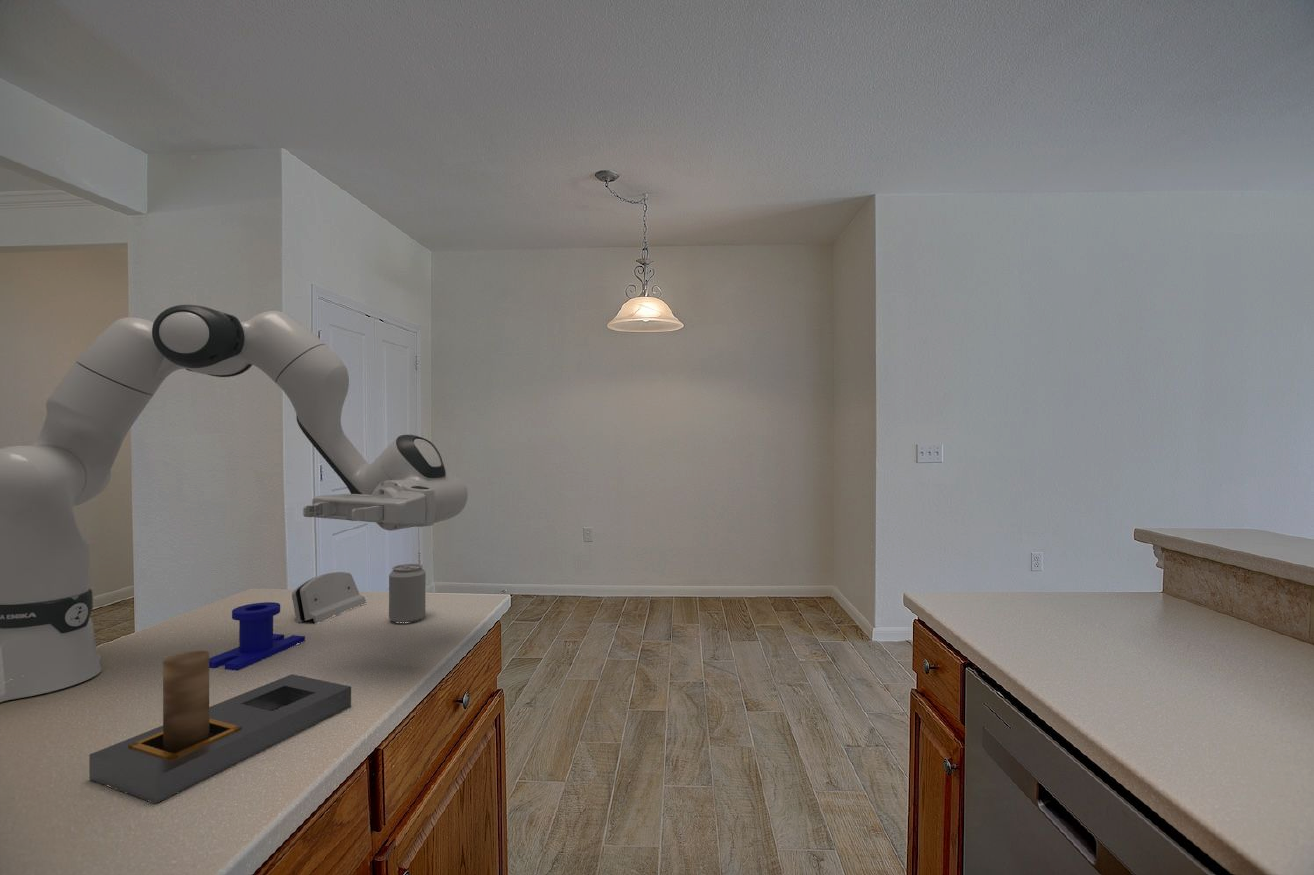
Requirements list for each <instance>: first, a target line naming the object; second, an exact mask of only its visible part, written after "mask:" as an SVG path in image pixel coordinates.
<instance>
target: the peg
mask: <svg viewBox="0 0 1314 875" xmlns="http://www.w3.org/2000/svg"><path fill="white" fill-rule="evenodd" d="M209 658H210V652H209V651H206V650H191V651H185V652H181V653H177V654H173V655H171V656H168V657H166V658H165V659H163V661H162V711H163V712H162V721H163V722H162V726H163V751H167V752H170V753H173V754H175V753H177V752H180V751H182V750H184V749H186V748H189V747H191V746H193V745H195V744H198V743H200V742H202V741H204V740H207V739H209V707H210V668H209Z"/></svg>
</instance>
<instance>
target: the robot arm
mask: <svg viewBox="0 0 1314 875" xmlns="http://www.w3.org/2000/svg"><path fill="white" fill-rule="evenodd" d="M252 366H254V367H256V368H258V369H259V370H260V371H262V372H263V373H264V374H266V376H268V378H270V379H271V380H272V381H273V382H274V383H275V384H276V385H277V386H278V387H279V388H280V389H281V390H282V391H283V392H284V394H285V395H286V396H287V398H288V399H289V401H290V402H291V405H292V407H293V408H294V411H295V414H296V416H295V418H296V422H297V424H298V427H299V429H300V430H301V431H302V433H303V434H304V435H305V437H306V438H307V439H308V441H309V442H310V443H311V445H312V446H313V447H314V448H315V450H316V451H317V452H318V453H319V454H320V456H322V458H323V459H324V460H325V461H326V463H327V464H328V465H329V466H330V467H331V469H332V470H333V471H334V472H335V473H336V475H337V476H338V478H340V480H341V481H342V482H343V483H344V485H345V486H346V487H347V489H348V491H349V493H341V494H338V493H337V494H326V495H318V496H314V497H313V498H312V501H311V504H308V505H304V507H303V509H302V512H303V513H302V515H303V517H305V518H318V519H330V520H345V521H351V522H357V521H358V522H368V523H376V525H378V526H379V527H380V528H381V529H383V530H385V531H397V530H402V529H408V528H412V527H415V528H417V527H421V528H422V527H430V526H433V525H434V524H435V523H440V522H443V521H446V520H450V519H452V518H455V517H456V516H458V515H460V513H462V511H463V510H464V508H465V506H466V505H467V502H468V498H469V497H468V496H469V492H468V488H467V486H466V484H465V482H464V481H463V480H462V479H461V478H459V477H457V476H455V475H454V474H451V473H450V471H448V470H447V468H446V467H445V464H444V462H443V459H442V456H441V454H440V452H439V450H438V449H437V447H436V445H435V444H433V442H432V441H430V440H429V439H426V438H424V437H423V436H418V435H414V434H402V435H398V437H397V438H396V439H394V440H393V442H391V443H390V444H389V445H388V446H387V447H386V448H385V449H384V450H383V451H382V452H381V454H379V456H378V457H376V459H375V460H373V462H372V463H371V464H370V463H369V462H368V461H367V460H366V459H365V458H364V456H362V454H361V453H360V452H359V451H358V449H357V447H356V446H355V445H354V444H353V443H352V442H351V440H350V439H349V438H348V437H347V435H346V434H345V433H344V430H343V427H342V420H341V418H342V412H343V407H344V404H345V401H346V398H347V395H348V392H349V385H350V377H349V370H348V369H347V367H346V365H345V363H344V362H343V360H341V358H340V357H339V356H338V354H336V353H335V352H334V351H333V350H332V349H331V348H330V347H329V346H328V345H327V344H326V343H325V342H324V341H322V340H321V339H320V338H319V337H318V336H317V335H315V333H314V332H312V331H311V330H309V328H307V327H306V326H304V325H303V324H302V323H301V322H299V321H297V320H296V319H295V318H292V317H291V316H290V315H289V314H286V313H285V312H282V311H279V310H268V311H264V312H260V313H258V314H256V315H255V316H253V317H251V318H250V319H248V320H246V321H240V320H239V318H238V316H237V317H236V316H235V315H233V314H229V313H226V312H222V311H219V310H215V309H213V308H210V307H206V306H202V305H198V304H197V305H196V304H195V305H194V304H178V305H173V306H171V307H168V308H166V309H164V310H163V311H162V312H160V313H159V314H158V315H157V317H156V318H155V319H154V322H153V321H152V320H148V319H146V318H140V317H132V316H129V317H122V318H119V319H116V320H115V321H113V322H112V324H110V325H109V326H107V327H106V329H104V330H103V331H102V332H101V333H99V334H98V336H97V337H96V338H95V339H93V341H92V342H90V344H89V345H88V346H87V347H86V349H85V350H84V351H83V352H82V353H81V355H80V356H79V357H78V358H77V360H76V361H75V362H74V363H73V365H72V366H71V367H70V368H69V370H68V371H67V372H66V374H65V375H64V377H63V378H62V379H61V380H60V382H59V383H58V384H57V386H56V387H55V388H54V390H52V392H51V394H50V396H49V397H48V398H47V399H46V403H45V408H46V416H45V420H44V421H43V425H42V428H41V430H40V433H39V435H38V437H37V439H36V440H34V441H33V443H31V444H30V445H11V446H4V447H1V448H0V703H3V702H5V701H9V700H17V699H22V698H23V699H24V698H28V697H32V696H37V695H43V694H47V693H51V692H54V691H58V690H62V689H66V688H69V687H72V686H75V685H77V684H80V683H82V682H86V681H87V680H89V679H92V678H93V677H95V676H97V675H99V674H100V673H101V672H102V671H103V668H102V666H101V661H102V660H101V658H102V657H101V654H98V651H97V650H98V649H97V644H96V638H95V629H94V624H93V619H92V618H91V615H92V614H91V613H92V611H93V609H94V608H93V607H94V606H93V601H94V595H93V590H92V589H91V588H90V546H89V543H88V541H87V540H86V538H84V537H83V535H82V534H81V531H80V530H79V529H80V528H79V527H78V526H79V525H78V524H77V520H76V516H75V514H74V513H75V512H74V507H77V506H79V505H82V504H85V503H86V502H88V501H91V500H92V499H93V498H95V497H97V496H98V495H99V494H101V493H102V492H103V491H104V490H105V489H106V488H107V487H108V485H109V483H110V481H111V477H112V471H111V470H112V468H113V465H114V463H115V461H116V458H117V456H118V454H119V451H120V449H121V447H122V444H123V442H124V440H125V438H126V436H127V435H128V433H129V431H130V430H131V429H132V427H133V425H134V424H135V422H136V421H137V419H138V418H139V417H140V415H141V414H142V412H143V411H144V409H145V408H146V407H147V405H148V403H149V402H150V401H151V399H152V398H153V397H154V395H155V394H156V392H157V391H158V390H159V388H160V387H161V385H162V383H163V382H164V381H165V380H166V379H167V378H168V377H169V376H170V375H171V374H172V373H174V372H176V371H178V370H183V369H185V370H186V371H188V372H194V373H197V374H201V375H207V376H211V377H216V378H217V377H218V378H231V377H235V376H239V375H241V374H244V373H245V372H247V371H248V370H250V369H251V368H252ZM23 675H24V676H23ZM21 676H22V677H21ZM10 679H13V680H10ZM8 680H9V681H8ZM7 681H8V682H7ZM3 682H6V683H3Z"/></svg>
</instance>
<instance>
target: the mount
mask: <svg viewBox="0 0 1314 875" xmlns="http://www.w3.org/2000/svg"><path fill="white" fill-rule="evenodd" d="M280 613H281V604H280V603H279V602H274V601H273V602H271V601H269V602H267V601H266V602H256V603H255V602H254V603H250V604H249V603H248V604H244V605H241V606H240V605H239V606H238V607H235V608H233V609H232V611H231V619H232V620H233V621H237V622H238V621H239V624H238V625H239V626H238V627H239V628H238V629H239V632H238V633H239V636H238V637H239V640H238V643H239V645H238V647H235V648H233V649H232V648H231V649H229V650H227V651H225V652H222V653H218V654H217V655H214V656H212V657H209V669H217V668H220V667H221V666H224V670H226V671H227V670H228V671H240V670H243V669H245V668H247V667H250V666H251V665H254V664H256V663H258V662H262V661H263V660H262V659H264V660H266V659H268V658H270V657H273V656H275V655H277V654H279V653H278V652H280V653H281V651H282V652H283V650H284V651H287V650H288V648H289V649H291V648H293V647H295V646H294V645H296V644H297V643H300V644H302V643H304V642H303V641H305V642H306V636H305V635H298V634H297V635H296V634H295V635H294V634H293V635H290V636H288V637H285V634H281V633H274V616H277V615H278V614H280ZM301 642H302V643H301ZM292 646H293V647H292ZM296 646H297V645H296ZM290 647H291V648H290ZM276 653H277V654H276ZM274 654H275V655H274ZM272 655H273V656H272ZM267 657H268V658H267ZM265 658H266V659H265ZM249 665H250V666H249Z"/></svg>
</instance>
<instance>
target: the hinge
mask: <svg viewBox="0 0 1314 875" xmlns="http://www.w3.org/2000/svg"><path fill="white" fill-rule="evenodd" d="M353 577H354V576H352V573H349V572H346V571H344V572H343V571H336V572H335V571H334V572H329V573H324V574H321V575H318V576H315V577H312V578H310V579H309V580H307V581H305V582H303V583H302V584H300V585H299V586H298V587H297V588H296V589H294V590H293V591H292V592H291V600H292V605H293V610H294V616H295V622H296V623H297V622H300V623H303V622H305V621H309V620H313V622H314V624H315V623H318V622H321V623H323V622H322V621H324V620H326V619H328V618H330V617H332V616H333V615H338V614H340V613H342V612H344V611H346V610H348V609H350V608H354V607H357V606H359V605H361V604H364V603H367V600H366V597H365V596H364V595H362V594H360V592H359V590H358V587H357V584H356V582H355V580H354V578H353ZM338 616H339V615H338ZM328 620H329V619H328ZM326 621H327V620H326ZM324 622H325V621H324Z"/></svg>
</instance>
